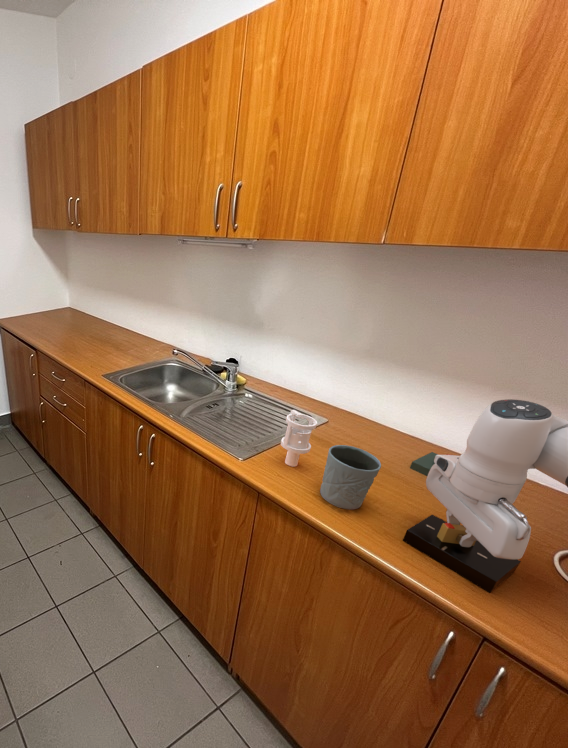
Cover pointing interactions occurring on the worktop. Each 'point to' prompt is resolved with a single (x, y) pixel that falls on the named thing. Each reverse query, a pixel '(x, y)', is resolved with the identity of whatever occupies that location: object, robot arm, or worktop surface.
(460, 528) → the lock knob
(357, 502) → the grey plant pot
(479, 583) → the lock plate
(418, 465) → the switch box
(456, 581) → the worktop surface
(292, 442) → the strainer
